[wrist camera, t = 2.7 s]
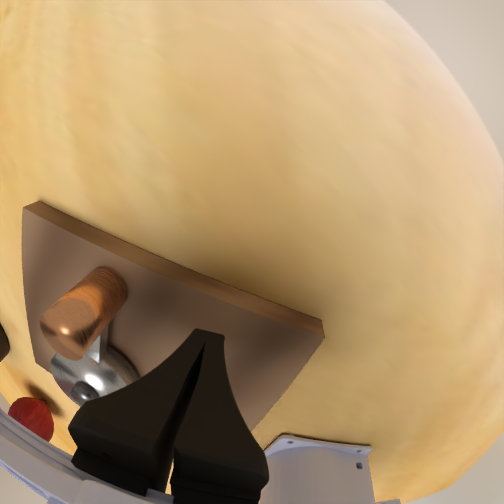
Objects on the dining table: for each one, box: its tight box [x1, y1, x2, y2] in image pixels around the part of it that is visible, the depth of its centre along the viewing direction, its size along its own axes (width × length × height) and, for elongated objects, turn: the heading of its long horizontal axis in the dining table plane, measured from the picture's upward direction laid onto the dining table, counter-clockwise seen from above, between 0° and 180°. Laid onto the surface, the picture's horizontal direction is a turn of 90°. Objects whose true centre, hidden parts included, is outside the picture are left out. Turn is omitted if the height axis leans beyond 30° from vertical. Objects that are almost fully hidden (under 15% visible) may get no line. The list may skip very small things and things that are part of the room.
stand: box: [22, 201, 325, 432], centre depth 15 cm, size 18×14×4 cm
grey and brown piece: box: [40, 268, 139, 407], centre depth 13 cm, size 11×6×4 cm, turn 158°
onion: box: [8, 397, 54, 442], centre depth 19 cm, size 6×6×8 cm
